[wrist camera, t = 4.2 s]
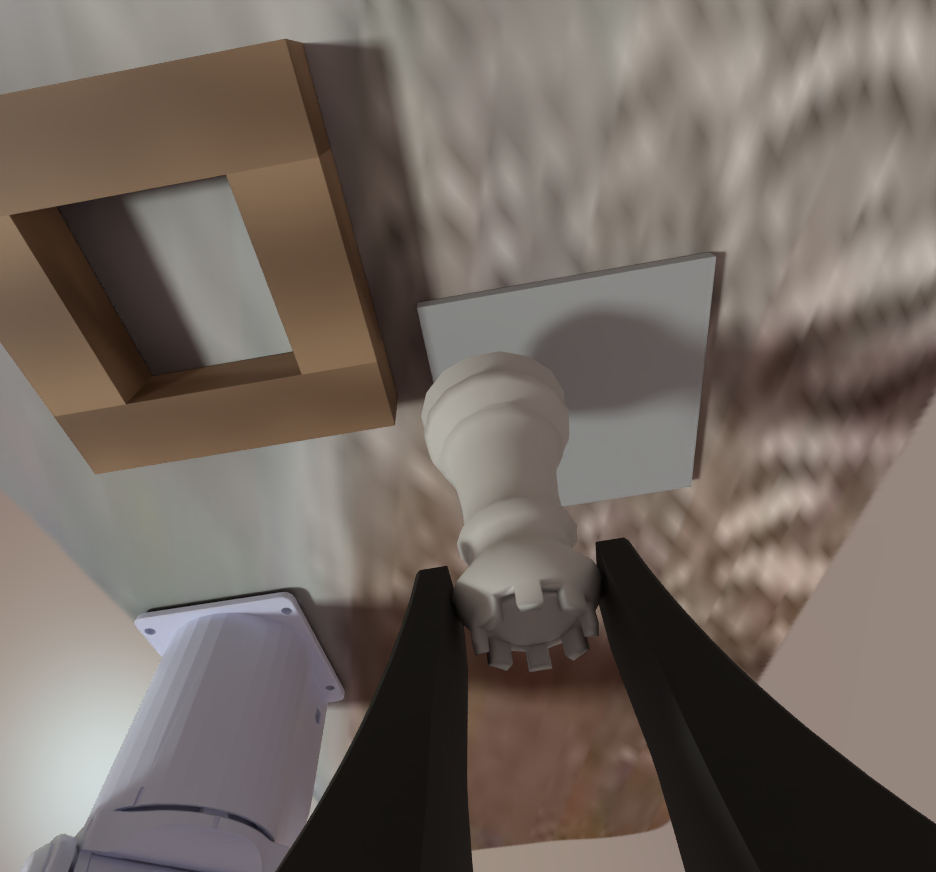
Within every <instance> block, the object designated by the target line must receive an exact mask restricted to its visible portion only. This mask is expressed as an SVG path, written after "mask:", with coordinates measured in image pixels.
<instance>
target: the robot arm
mask: <svg viewBox="0 0 936 872" xmlns="http://www.w3.org/2000/svg"><path fill="white" fill-rule="evenodd" d="M596 562H597V567H598V568H599V570H600V571H601V572H602V573H603V589H604V595H603V597H602V599H601V601H600V603H599V607H600V610H601V614H602V618H603V622H604V626H605V629H606V633H607V637H608V640H609V644H610V648H611V650H612V653H613V656H614V658H615V661H616V664H617V666H618V669H619V672H620V674H621V677H622V680H623V682H624V685H625V688H626V690H627V693H628V695H629V698H630V701H631V703H632V706H633V709H634V711H635V714H636V716H637V719H638V722H639V724H640V727H641V730H642V732H643V735H644V737H645V740H646V743H647V745H648V748H649V751H650V753H651V756H652V759H653V762H654V765H655V768H656V771H657V774H658V777H659V781H660V784H661V788H662V791H663V794H664V798H665V801H666V805H667V808H668V812H669V815H670V819H671V822H672V825H673V829H674V833H675V836H676V840H677V843H678V847H679V851H680V854H681V857H682V861H683V865H684V868H685V872H936V824H935V823H934V822H932V821H931V820H930V819H928V818H927V817H925V816H924V815H922V814H921V813H920V812H918V811H917V810H915V809H914V808H912V807H911V806H910V805H908V804H907V803H906V802H904V801H903V800H901V799H900V798H899V797H897V796H896V795H895V794H893V793H892V792H890V791H889V790H888V789H886V788H885V787H884V786H882V785H881V784H879V783H878V782H877V781H875V780H874V779H872V778H871V777H870V776H868V775H867V774H866V773H865V772H863V771H862V770H861V769H859V768H858V767H857V766H856V765H854V764H853V763H852V762H850V761H849V760H848V759H847V758H845V757H844V756H843V755H842V754H840V753H839V752H838V751H836V750H835V749H834V748H833V747H831V746H830V745H828V743H826V742H825V741H824V740H822V739H821V738H820V737H819V736H817V735H816V734H815V733H813V732H812V731H811V730H810V729H809V728H807V727H806V726H805V725H804V724H803V723H801V722H800V721H799V720H798V719H797V718H795V717H794V716H793V715H792V714H791V713H790V712H788V711H787V710H786V709H785V708H784V707H782V706H781V705H780V704H779V703H778V702H777V701H776V700H774V699H773V698H772V697H771V696H770V695H769V694H768V693H767V692H766V691H764V690H763V689H762V688H761V687H760V686H759V685H758V684H757V683H756V682H754V681H753V680H752V679H751V678H750V677H749V676H748V675H747V674H746V673H745V672H744V671H743V670H742V669H741V668H740V667H739V666H738V665H736V664H735V663H734V662H733V661H732V660H731V659H730V658H729V657H728V656H727V655H726V654H725V653H724V652H723V651H722V650H721V649H720V648H719V647H718V646H717V645H716V644H715V643H714V642H713V641H712V640H711V639H710V638H709V636H708V635H707V634H706V633H705V632H704V631H703V630H702V629H701V628H700V627H699V626H698V625H697V624H696V623H695V622H694V620H693V619H692V618H691V617H690V616H689V615H688V614H687V613H686V612H685V610H684V609H683V608H682V607H681V606H680V605H679V604H678V603H677V601H676V600H675V599H674V598H673V597H672V596H671V595H670V593H669V592H668V591H667V590H666V589H665V587H664V586H663V585H662V584H661V583H660V581H659V580H658V579H657V578H656V576H655V575H654V574H653V573H652V571H651V570H650V569H649V568H648V566H647V565H646V564H645V562H644V561H643V560H642V558H641V557H640V556H639V554H638V553H637V552H636V550H635V549H634V547H633V546H632V545H631V543H630V542H629V540H627V539H625V538H618V539H612V540H606V541H599V542H596ZM453 590H454V588H453V584H452V581H451V577H450V574H449V570H448V567H447V566H443V567H437V568H430V569H424V570H420V571H419V572H418V573H417V574H416V578H415V582H414V586H413V590H412V593H411V597H410V601H409V604H408V607H407V611H406V614H405V617H404V620H403V623H402V626H401V629H400V632H399V634H398V637H397V640H396V642H395V645H394V648H393V650H392V653H391V656H390V659H389V661H388V664H387V666H386V669H385V671H384V674H383V676H382V678H381V681H380V683H379V685H378V687H377V690H376V692H375V694H374V697H373V699H372V701H371V704H370V706H369V708H368V710H367V712H366V715H365V717H364V719H363V721H362V723H361V725H360V727H359V729H358V731H357V733H356V735H355V737H354V739H353V741H352V743H351V745H350V747H349V749H348V751H347V753H346V755H345V757H344V759H343V760H342V762H341V764H340V766H339V768H338V769H337V771H336V773H335V775H334V777H333V778H332V780H331V782H330V784H329V785H328V787H327V789H326V791H325V793H324V794H323V796H322V798H321V800H320V801H319V803H318V805H317V806H316V808H315V810H314V812H313V813H312V815H311V816H310V818H309V820H308V821H307V818H308V815H309V811H310V807H311V801H312V795H313V789H314V783H315V777H316V771H317V765H318V759H319V753H320V747H321V741H322V735H323V729H324V723H325V717H326V711H327V705H328V703H331V702H338V701H341V700H342V699H343V698H344V695H345V690H344V689H343V687H342V685H341V683H340V681H339V679H338V677H337V675H336V674H335V672H334V670H333V668H332V666H331V664H330V662H329V660H328V659H327V657H326V655H325V653H324V651H323V649H322V647H321V645H320V644H319V642H318V640H317V638H316V636H315V634H314V632H313V630H312V629H311V627H310V625H309V623H308V621H307V619H306V617H305V615H304V614H303V612H302V610H301V608H300V606H299V604H298V602H297V600H296V599H295V597H294V596H293V595H292V594H290V593H287V592H279V593H273V594H266V595H260V596H253V597H246V598H240V599H233V600H227V601H220V602H213V603H207V604H200V605H194V606H187V607H180V608H174V609H167V610H161V611H154V612H147V613H142V614H140V615H138V617H137V618H136V620H135V626H136V627H137V628H138V629H139V631H140V632H141V633H142V634H143V635H144V637H145V638H146V639H147V640H148V641H149V643H150V644H151V645H152V646H153V647H154V648H155V650H156V651H157V652H158V653H159V654H160V655H161V657H162V659H161V661H160V663H159V665H158V668H157V670H156V672H155V674H154V676H153V678H152V681H151V683H150V685H149V687H148V689H147V692H146V694H145V696H144V698H143V700H142V703H141V705H140V707H139V709H138V711H137V713H136V715H135V717H134V720H133V722H132V724H131V726H130V728H129V731H128V733H127V735H126V737H125V739H124V741H123V743H122V746H121V748H120V750H119V752H118V754H117V756H116V759H115V761H114V763H113V765H112V767H111V769H110V772H109V774H108V776H107V778H106V780H105V783H104V785H103V787H102V789H101V791H100V793H99V796H98V798H97V800H96V802H95V804H94V806H93V808H92V811H91V813H90V815H89V817H88V819H87V821H86V824H85V826H84V827H83V828H82V829H81V830H80V831H79V833H78V834H77V835H76V836H75V837H72V836H69V835H66V834H60V835H58V836H56V837H55V838H54V839H53V840H52V841H51V842H50V843H48V844H46V845H44V846H43V847H41V848H39V849H38V850H36V851H35V852H33V853H32V854H31V855H30V856H29V857H28V859H27V860H26V861H25V863H24V864H23V866H22V867H21V869H20V870H19V872H473V865H472V853H471V839H470V826H469V812H468V793H467V722H468V666H467V655H466V644H465V633H464V625H463V624H462V623H461V622H460V621H459V620H458V619H457V617H456V614H455V610H454V607H453V604H452V600H451V596H452V593H453ZM306 821H307V823H306ZM305 824H306V825H305Z"/></svg>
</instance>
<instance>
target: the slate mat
mask: <svg viewBox="0 0 936 872" xmlns="http://www.w3.org/2000/svg"><path fill="white" fill-rule="evenodd" d="M715 263H716V256H715V255H714V254H712V253H710V252H707V253H701V254H695V255H690V256H684V257H678V258H672V259H667V260H661V261H655V262H649V263H643V264H638V265H632V266H626V267H620V268H615V269H609V270H603V271H597V272H592V273H586V274H580V275H574V276H568V277H563V278H557V279H551V280H545V281H540V282H534V283H528V284H522V285H517V286H511V287H505V288H499V289H494V290H488V291H482V292H476V293H470V294H465V295H459V296H453V297H447V298H442V299H436V300H430V301H424V302H419V303H417V311H418V315H419V320H420V324H421V329H422V333H423V338H424V342H425V347H426V351H427V356H428V360H429V365H430V369H431V374H432V378H433V383H434V382H435V381H436V380H437V379H438V377H439V376H440V375H441V373H442V372H443V371H445V370H446V369H448V368H450V367H452V366H453V365H455V364H457V363H458V362H460V361H462V360H464V359H465V358H467V357H469V356H475V355H480V354H486V353H491V352H497V351H502V352H507V353H513V354H519V355H524V356H529V357H530V358H532V359H534V360H535V361H537V362H538V363H540V364H542V365H543V366H545V367H546V368H548V369H549V370H551V371H552V373H553V374H554V376H555V378H556V379H557V381H558V382H559V384H560V386H561V387H562V389H563V391H564V399H565V405H566V406H567V408H568V415H569V440H568V443H567V445H566V447H565V449H564V452H563V457H562V459H561V461H560V464H559V466H558V468H557V472H556V474H557V484H558V494H559V498H560V502H561V505H562V507H563V506H569V505H576V504H582V503H589V502H595V501H602V500H608V499H614V498H621V497H627V496H634V495H640V494H647V493H653V492H660V491H666V490H673V489H679V488H685V487H691V482H692V473H693V464H694V455H695V446H696V437H697V427H698V418H699V409H700V400H701V391H702V382H703V373H704V364H705V354H706V345H707V336H708V327H709V318H710V309H711V300H712V290H713V281H714V272H715ZM459 500H460V499H459ZM460 505H461V503H460ZM461 509H462V507H461ZM462 514H463V510H462ZM463 518H464V516H463Z"/></svg>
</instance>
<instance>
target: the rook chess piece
mask: <svg viewBox="0 0 936 872" xmlns="http://www.w3.org/2000/svg"><path fill="white" fill-rule="evenodd" d="M421 418H422V421H423V425H424V429H425V430H424V437H425V441H426V444H427V448H428V452H429V455H430V457H431V460H432V462H433V463H434V465H435V466H436V467H437V468H438V469H439V470H440V471H441V472H442V473H443V474H444V476H445V477H446V479H447V480H448V481H449V482H450V483H451V484H452V485H453V486H454V487H455V488H456V490H457V492H458V496H459V499H460V503H461V507H462V510H463V516H464V527H463V528H462V530H461V533H460V536H459V539H458V543H457V545H458V549H459V553H460V556H461V559H462V560H463V561H464V562H465V563H466V564H467V565H468V566H469V567H468V568H467V569H466V571H465V572H464V573H463V574H462V575H461V577H460V578H459V579H458V580H457V582H456V585H455V588H454V590H453V593H452V596H451V600H452V604H453V607H454V610H455V614H456V617H457V619H458V620H459V621H460V622H461V623H462V624H463V625H464V626H466V627H467V628H468V629H469V630H470V631H471V637H472V644H473V647H474V651H475V654H476V655H478V654H482V653H485V652H487V658H488V665H490V666H493V667H496V668H499V669H502V670H506V671H507V670H508V669H509V668H510V667H511V666H512V665H513V659H512V652H511V651H521V652H526V656H527V662H528V668H529V672H533V671H539V670H546V669H552V664H551V659H550V654H549V650H548V648H550V647H553V646H556V645H558V644H561V643H562V644H563V648H564V653H565V656H566V657H568V658H570V659H571V660H573V661H574V660H575V659H577V658H578V657H580V656H581V655H582V654H584V653H585V652H587V651H588V650H590V648H589V645H588V641H587V637H589V636H599V622H598V619H597V616H596V612H595V611H596V609H597V607H598V605H599V603H600V601H601V599H602V597H603V595H604V589H603V573H602V572H601V571H600V570H599V568H598V567H597V566H596V564H595V563H594V562H593V560H592V559H590V558H588V557H587V556H585V555H583V554H581V553H580V552H578V551H576V550H575V549H573V547H574V545H575V543H576V541H577V524H576V523H575V522H574V520H573V519H572V517H571V516H570V515H569V513H568V512H567V511H566V510H564V509H562V505H561V502H560V498H559V494H558V484H557V474H556V472H557V468H558V466H559V464H560V461H561V459H562V457H563V452H564V449H565V447H566V445H567V443H568V440H569V415H568V408H567V406H566V405H565V399H564V391H563V389H562V387H561V386H560V384H559V382H558V381H557V379H556V378H555V376H554V374H553V373H552V371H551V370H549V369H548V368H546V367H545V366H543V365H542V364H540V363H538V362H537V361H535V360H534V359H532V358H530V357H529V356H524V355H519V354H513V353H507V352H502V351H497V352H491V353H486V354H480V355H475V356H469V357H467V358H465V359H464V360H462V361H460V362H458V363H457V364H455V365H453V366H452V367H450V368H448V369H446V370H445V371H443V372H442V373H441V375H440V376H439V377H438V379H437V380H436V381H435V382H434V384H433V385H432V386H431V388H430V389H429V390H428V391H427V393H426V397H425V401H424V406H423V411H422V415H421Z"/></svg>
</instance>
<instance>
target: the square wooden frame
mask: <svg viewBox="0 0 936 872" xmlns="http://www.w3.org/2000/svg"><path fill="white" fill-rule="evenodd" d="M221 175H226V176H227V179H228V181H229V184H230V187H231V189H232V192H233V195H234V197H235V200H236V202H237V205H238V208H239V210H240V213H241V216H242V218H243V221H244V223H245V226H246V229H247V231H248V234H249V237H250V239H251V242H252V245H253V247H254V250H255V252H256V255H257V258H258V260H259V263H260V266H261V268H262V271H263V273H264V276H265V279H266V281H267V284H268V287H269V289H270V292H271V294H272V297H273V300H274V302H275V305H276V308H277V310H278V313H279V316H280V318H281V321H282V323H283V326H284V329H285V331H286V334H287V337H288V339H289V342H290V344H291V347H292V350H293V352H289V353H283V354H278V355H272V356H266V357H260V358H254V359H248V360H242V361H237V362H231V363H225V364H219V365H213V366H207V367H202V368H196V369H190V370H184V371H178V372H172V373H167V374H161V375H155V376H152V375H151V373H150V371H149V370H148V368H147V366H146V364H145V362H144V361H143V359H142V357H141V355H140V354H139V352H138V350H137V348H136V346H135V345H134V343H133V341H132V339H131V338H130V336H129V334H128V332H127V331H126V329H125V327H124V325H123V323H122V322H121V320H120V318H119V316H118V315H117V313H116V311H115V309H114V307H113V306H112V304H111V302H110V300H109V299H108V297H107V295H106V293H105V292H104V290H103V288H102V286H101V284H100V283H99V281H98V279H97V277H96V276H95V274H94V272H93V270H92V268H91V267H90V265H89V263H88V261H87V260H86V258H85V256H84V254H83V253H82V251H81V249H80V247H79V245H78V244H77V242H76V240H75V238H74V237H73V235H72V233H71V231H70V229H69V228H68V226H67V224H66V222H65V221H64V219H63V217H62V215H61V213H60V212H59V210H58V208H57V206H60V205H66V204H71V203H76V202H82V201H87V200H93V199H98V198H103V197H109V196H114V195H119V194H125V193H130V192H135V191H141V190H146V189H151V188H157V187H162V186H167V185H173V184H178V183H184V182H189V181H194V180H200V179H205V178H210V177H216V176H221ZM0 342H1V344H2V345H3V346H4V348H5V349H6V351H7V352H8V353H9V355H10V356H11V358H12V359H13V360H14V362H15V363H16V364H17V366H18V367H19V369H20V370H21V371H22V373H23V374H24V376H25V377H26V378H27V380H28V381H29V383H30V384H31V385H32V387H33V388H34V389H35V391H36V392H37V394H38V395H39V396H40V398H41V399H42V401H43V402H44V403H45V405H46V406H47V408H48V409H49V410H50V412H51V413H52V414H53V416H54V417H55V419H56V420H57V421H58V423H59V424H60V426H61V427H62V428H63V430H64V431H65V433H66V434H67V435H68V437H69V438H70V440H71V441H72V442H73V444H74V445H75V446H76V448H77V449H78V451H79V452H80V453H81V455H82V456H83V458H84V459H85V460H86V462H87V463H88V465H89V466H90V467H91V469H92V470H93V471H94V473H95V474H100V473H106V472H112V471H118V470H124V469H130V468H136V467H142V466H149V465H155V464H161V463H167V462H173V461H179V460H185V459H191V458H197V457H204V456H210V455H216V454H222V453H228V452H234V451H240V450H246V449H252V448H259V447H265V446H271V445H277V444H283V443H289V442H295V441H301V440H307V439H314V438H320V437H326V436H332V435H338V434H344V433H350V432H356V431H362V430H369V429H375V428H381V427H387V426H393V425H395V419H396V410H397V400H398V395H397V391H396V388H395V384H394V380H393V377H392V373H391V369H390V366H389V362H388V358H387V354H386V351H385V347H384V343H383V340H382V336H381V332H380V329H379V325H378V321H377V317H376V314H375V310H374V306H373V303H372V299H371V295H370V292H369V288H368V284H367V280H366V277H365V273H364V269H363V266H362V262H361V258H360V255H359V251H358V247H357V243H356V240H355V236H354V232H353V229H352V225H351V221H350V218H349V214H348V210H347V206H346V203H345V199H344V195H343V192H342V188H341V184H340V181H339V177H338V173H337V169H336V166H335V162H334V158H333V155H332V151H331V147H330V144H329V140H328V136H327V132H326V129H325V125H324V121H323V118H322V114H321V110H320V107H319V103H318V99H317V96H316V92H315V88H314V84H313V81H312V77H311V73H310V70H309V66H308V62H307V59H306V55H305V51H304V47H303V44H302V43H301V42H296V41H292V40H288V39H282V40H277V41H272V42H267V43H261V44H256V45H251V46H246V47H241V48H236V49H231V50H226V51H221V52H216V53H211V54H206V55H201V56H196V57H190V58H185V59H180V60H175V61H170V62H165V63H160V64H155V65H150V66H145V67H140V68H135V69H130V70H125V71H119V72H114V73H109V74H104V75H99V76H94V77H89V78H84V79H79V80H74V81H69V82H64V83H59V84H53V85H48V86H43V87H38V88H33V89H28V90H23V91H18V92H13V93H8V94H3V95H0Z"/></svg>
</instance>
